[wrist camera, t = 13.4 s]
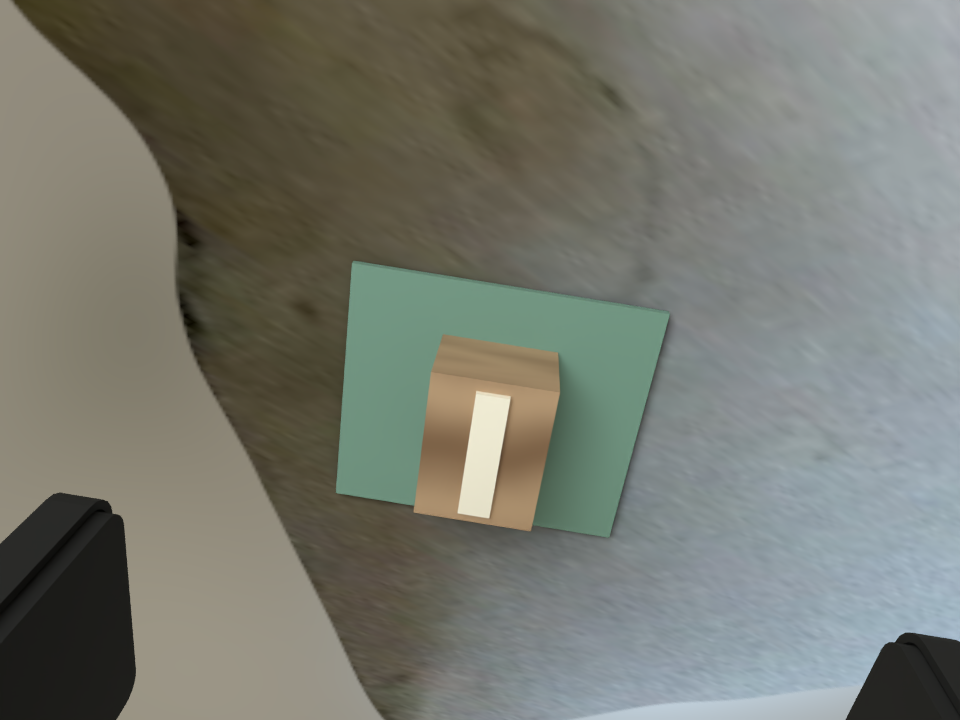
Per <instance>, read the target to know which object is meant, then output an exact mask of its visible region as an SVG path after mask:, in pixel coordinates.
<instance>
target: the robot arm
mask: <svg viewBox="0 0 960 720" xmlns="http://www.w3.org/2000/svg"><path fill="white" fill-rule="evenodd" d="M135 676H136V667H135V655H134V641H133V629H132V618H131V605H130V593H129V580H128V568H127V557H126V544H125V533H124V523H123V519H122V518H121V516H120V515H117V514H112V509H111V506H110V504H109V503H108V501H105V500H101V499H95V498H89V497H83V496H77V495H71V494H65V493H57V494H53V495H52V496H50V497H49V498H48V499H46V500H45V501H44V502H43V503H42V504H41V505H40V506H39V507H38V508H37V509H36V510H35V511H34V512H33V513H32V514H31V515H30V516H29V517H28V518H27V519H26V520H25V521H24V522H23V523H22V524H20V525H19V526H18V528H16V529H15V530H14V531H13V532H12V533H11V534H10V535H9V536H8V537H7V538H6V539H5V540H4V541H3V542H2V543H1V544H0V720H116V719H117V718H118V716H119V714H120V713H121V711H122V709H123V708H124V706H125V705H126V703H127V701H128V699H129V697H130V694H131V692H132V689H133V685H134V681H135ZM846 720H960V642H959V641H957V640H953V639H947V638H940V637H934V636H928V635H922V634H916V633H904V634H902V635H901V636H899V638H898V639H897V640H896V642H895V643H894V642H889V643H887V644H885V645H884V647H883V648H882V650H881V652H880V653H879V655H878V657H877V659H876V661H875V663H874V665H873V667H872V669H871V671H870V673H869V675H868V677H867V679H866V681H865V683H864V685H863V687H862V689H861V691H860V693H859V694H858V696H857V698H856V701H855V702H854V704H853V706H852V708H851V710H850V712H849V714H848V716H847V718H846Z"/></svg>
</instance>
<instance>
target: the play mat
mask: <svg viewBox="0 0 960 720" xmlns="http://www.w3.org/2000/svg"><path fill="white" fill-rule="evenodd" d="M669 315H670V314H669V311H663V310H657V309H650V308H644V307H638V306H632V305H625V304H619V303H613V302H607V301H601V300H594V299H588V298H582V297H576V296H570V295H563V294H557V293H551V292H545V291H539V290H532V289H526V288H520V287H514V286H507V285H501V284H495V283H489V282H483V281H476V280H470V279H464V278H458V277H452V276H445V275H439V274H433V273H427V272H420V271H414V270H408V269H402V268H396V267H389V266H383V265H377V264H371V263H365V262H358V261H353V263H352V272H351V286H350V301H349V315H348V329H347V343H346V358H345V372H344V386H343V400H342V415H341V429H340V443H339V457H338V472H337V486H336V493H340V494H346V495H352V496H358V497H364V498H370V499H376V500H383V501H389V502H395V503H401V504H407V505H413V506H415V498H416V490H417V482H418V473H419V465H420V457H421V449H422V441H423V433H424V425H425V417H426V409H427V401H428V393H429V385H430V376H431V371H432V367H433V364H434V361H435V358H436V355H437V352H438V349H439V345H440V342H441V339H442V336H443V334H445V335H451V336H457V337H464V338H470V339H476V340H482V341H489V342H495V343H501V344H507V345H514V346H520V347H526V348H533V349H539V350H545V351H551V352H558V360H559V380H560V395H559V400H558V405H557V410H556V414H555V419H554V424H553V429H552V433H551V438H550V443H549V448H548V452H547V457H546V462H545V467H544V471H543V476H542V481H541V486H540V490H539V495H538V500H537V505H536V509H535V514H534V519H533V524H532V525H535V526H541V527H547V528H553V529H559V530H565V531H571V532H577V533H584V534H590V535H596V536H602V537H608V538H609V536H610V532H611V529H612V525H613V521H614V518H615V514H616V510H617V507H618V503H619V499H620V496H621V492H622V488H623V485H624V481H625V477H626V474H627V470H628V466H629V463H630V459H631V455H632V451H633V448H634V444H635V440H636V437H637V433H638V429H639V426H640V422H641V418H642V415H643V411H644V407H645V404H646V400H647V396H648V393H649V389H650V385H651V382H652V378H653V374H654V371H655V367H656V363H657V360H658V356H659V352H660V349H661V345H662V341H663V337H664V334H665V330H666V326H667V323H668V319H669Z"/></svg>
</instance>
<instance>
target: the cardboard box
mask: <svg viewBox="0 0 960 720" xmlns="http://www.w3.org/2000/svg"><path fill="white" fill-rule="evenodd" d="M559 395H560V380H559V360H558V352H551V351H545V350H539V349H533V348H526V347H520V346H514V345H507V344H501V343H495V342H489V341H482V340H476V339H470V338H464V337H457V336H451V335H445V334H443V336H442V339H441V342H440V345H439V349H438V352H437V355H436V358H435V361H434V364H433V367H432V371H431V376H430V385H429V393H428V401H427V409H426V417H425V425H424V433H423V441H422V449H421V457H420V465H419V473H418V482H417V490H416V498H415V506H414V513H421V514H427V515H433V516H439V517H445V518H451V519H458V520H464V521H470V522H476V523H482V524H488V525H495V526H501V527H507V528H513V529H519V530H525V531H531V528H532V524H533V519H534V514H535V509H536V505H537V500H538V495H539V490H540V486H541V481H542V476H543V471H544V467H545V462H546V457H547V452H548V448H549V443H550V438H551V433H552V429H553V424H554V419H555V414H556V410H557V405H558V400H559Z"/></svg>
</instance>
